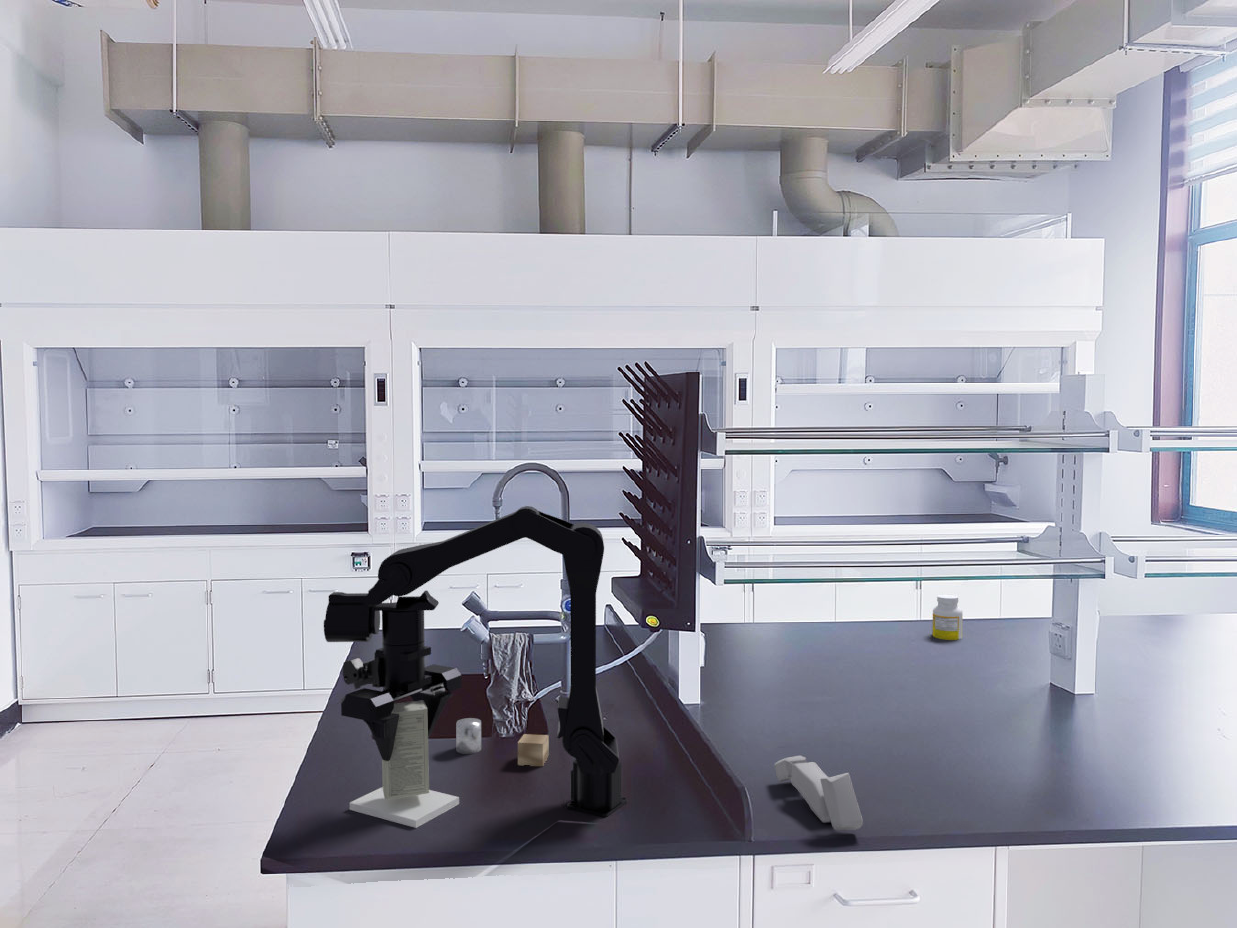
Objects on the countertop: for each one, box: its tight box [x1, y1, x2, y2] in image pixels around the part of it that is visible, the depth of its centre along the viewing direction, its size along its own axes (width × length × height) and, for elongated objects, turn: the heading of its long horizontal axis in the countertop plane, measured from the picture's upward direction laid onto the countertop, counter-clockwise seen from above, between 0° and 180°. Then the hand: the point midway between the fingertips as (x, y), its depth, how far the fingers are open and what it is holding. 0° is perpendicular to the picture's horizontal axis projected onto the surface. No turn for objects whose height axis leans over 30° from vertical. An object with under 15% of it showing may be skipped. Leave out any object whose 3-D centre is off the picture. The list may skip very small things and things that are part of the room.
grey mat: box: [349, 786, 460, 829], centre depth 134 cm, size 12×9×1 cm
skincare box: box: [381, 700, 430, 799], centre depth 133 cm, size 6×4×12 cm
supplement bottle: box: [931, 594, 964, 641], centre depth 225 cm, size 7×7×13 cm
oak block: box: [517, 733, 550, 767], centre depth 151 cm, size 4×4×4 cm
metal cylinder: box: [455, 717, 482, 755], centre depth 156 cm, size 4×4×5 cm
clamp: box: [774, 755, 864, 832], centre depth 134 cm, size 20×4×7 cm, turn 15°
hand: (404, 751), depth 133 cm, fingers closed on skincare box, 7 cm apart
